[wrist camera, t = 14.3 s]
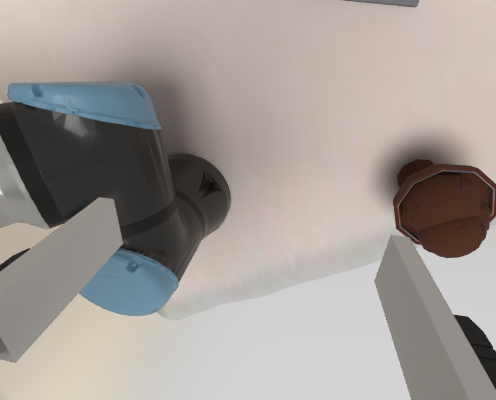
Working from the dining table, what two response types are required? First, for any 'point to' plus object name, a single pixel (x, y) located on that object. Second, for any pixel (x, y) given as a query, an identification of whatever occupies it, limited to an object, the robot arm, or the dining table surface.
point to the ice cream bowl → (444, 206)
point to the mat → (392, 2)
